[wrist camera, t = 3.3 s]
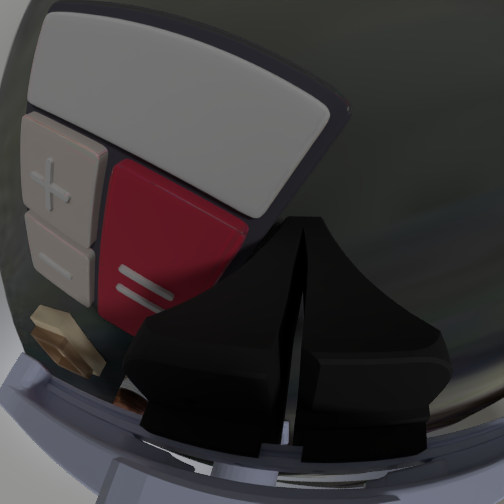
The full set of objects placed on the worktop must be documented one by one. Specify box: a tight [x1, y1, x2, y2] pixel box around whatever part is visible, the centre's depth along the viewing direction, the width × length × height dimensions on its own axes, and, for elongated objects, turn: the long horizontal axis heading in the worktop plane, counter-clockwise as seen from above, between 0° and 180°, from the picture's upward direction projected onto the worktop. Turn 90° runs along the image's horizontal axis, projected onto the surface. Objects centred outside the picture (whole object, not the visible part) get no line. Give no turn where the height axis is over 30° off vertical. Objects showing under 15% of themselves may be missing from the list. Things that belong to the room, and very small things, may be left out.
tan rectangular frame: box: [30, 305, 107, 379], centre depth 22 cm, size 8×6×3 cm
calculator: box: [20, 0, 352, 337], centre depth 10 cm, size 11×4×15 cm
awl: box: [112, 376, 149, 416], centre depth 20 cm, size 3×3×6 cm
